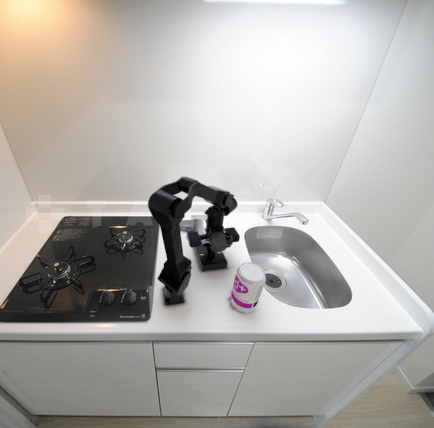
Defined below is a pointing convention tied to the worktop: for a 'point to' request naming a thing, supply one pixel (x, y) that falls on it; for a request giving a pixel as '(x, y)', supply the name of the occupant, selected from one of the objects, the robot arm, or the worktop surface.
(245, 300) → the supplement can
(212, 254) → the stove knob
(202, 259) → the stove panel
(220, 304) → the worktop surface
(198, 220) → the infrared thermometer
